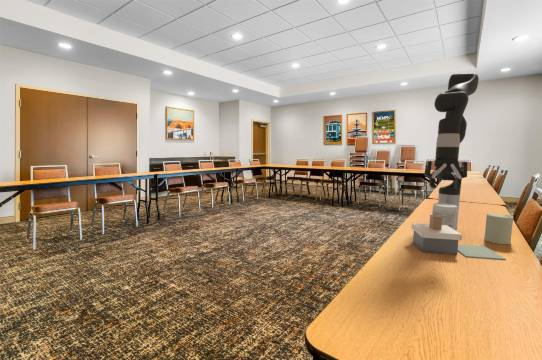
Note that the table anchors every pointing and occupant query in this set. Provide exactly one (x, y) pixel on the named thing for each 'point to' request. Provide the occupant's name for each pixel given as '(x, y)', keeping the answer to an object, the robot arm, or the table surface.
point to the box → (435, 244)
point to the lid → (436, 229)
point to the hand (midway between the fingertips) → (444, 188)
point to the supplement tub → (446, 213)
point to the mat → (478, 252)
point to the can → (498, 228)
